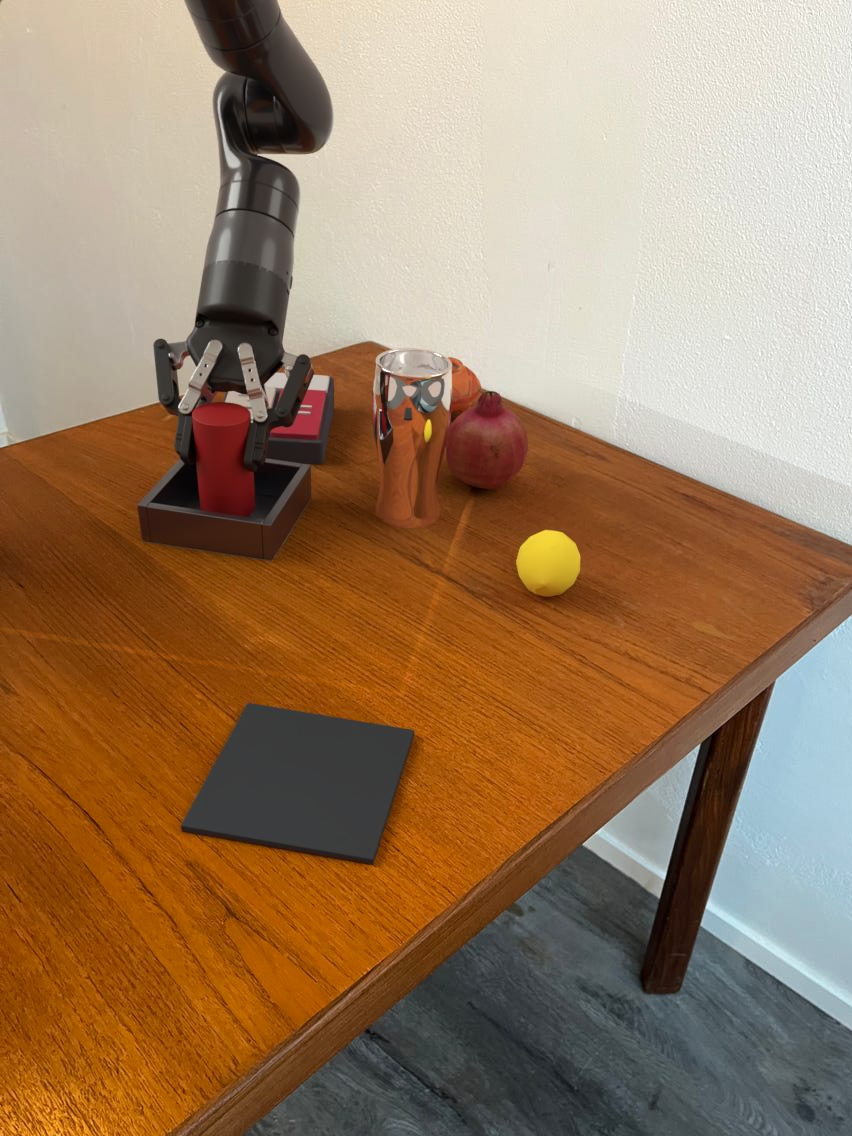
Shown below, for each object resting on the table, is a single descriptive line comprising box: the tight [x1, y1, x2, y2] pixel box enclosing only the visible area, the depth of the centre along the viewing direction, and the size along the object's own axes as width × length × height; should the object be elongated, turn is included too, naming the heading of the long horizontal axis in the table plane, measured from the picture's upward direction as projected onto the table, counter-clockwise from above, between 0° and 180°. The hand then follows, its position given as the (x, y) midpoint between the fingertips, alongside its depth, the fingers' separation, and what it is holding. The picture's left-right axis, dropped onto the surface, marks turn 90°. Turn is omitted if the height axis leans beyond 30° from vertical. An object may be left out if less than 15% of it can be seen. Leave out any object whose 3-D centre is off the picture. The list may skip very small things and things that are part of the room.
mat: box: [180, 702, 415, 865], centre depth 66 cm, size 12×12×1 cm
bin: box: [136, 457, 312, 562], centre depth 90 cm, size 12×12×4 cm
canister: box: [192, 401, 255, 517], centre depth 88 cm, size 5×5×9 cm
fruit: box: [445, 390, 529, 490], centre depth 98 cm, size 8×8×10 cm
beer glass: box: [371, 347, 453, 529], centre depth 90 cm, size 7×7×15 cm
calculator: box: [222, 372, 335, 466], centre depth 105 cm, size 11×4×15 cm
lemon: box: [515, 529, 581, 598], centre depth 85 cm, size 7×5×5 cm
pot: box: [447, 356, 482, 414], centre depth 113 cm, size 8×8×7 cm
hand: (218, 464), depth 86 cm, fingers closed on canister, 5 cm apart
